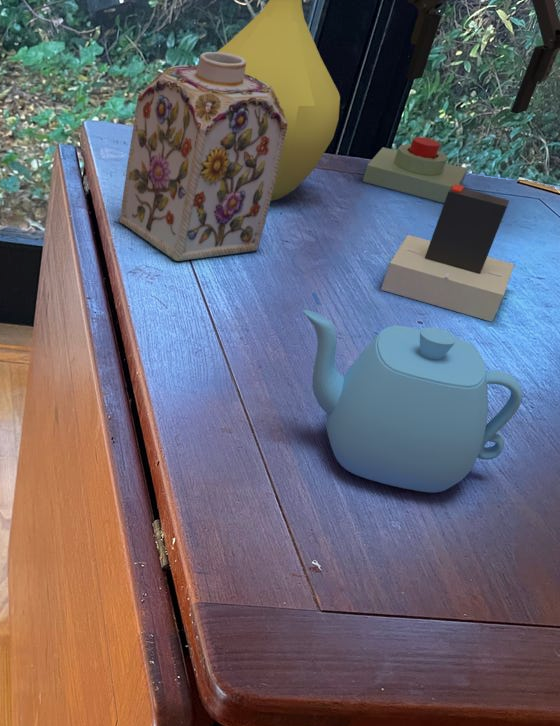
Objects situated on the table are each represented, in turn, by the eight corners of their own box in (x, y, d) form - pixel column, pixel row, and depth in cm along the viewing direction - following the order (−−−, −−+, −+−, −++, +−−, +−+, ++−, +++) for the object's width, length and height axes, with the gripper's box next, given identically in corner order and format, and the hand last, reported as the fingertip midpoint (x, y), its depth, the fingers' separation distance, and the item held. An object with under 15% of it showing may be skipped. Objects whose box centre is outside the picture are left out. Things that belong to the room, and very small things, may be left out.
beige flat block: (503, 290, 111) (515, 262, 109) (492, 322, 104) (504, 293, 102) (398, 260, 114) (408, 232, 112) (380, 290, 107) (390, 261, 105)
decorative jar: (260, 253, 110) (305, 72, 98) (176, 264, 105) (212, 75, 93) (197, 212, 117) (231, 39, 105) (115, 221, 112) (141, 40, 100)
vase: (320, 180, 132) (395, -96, 111) (310, 227, 118) (393, -78, 98) (186, 152, 133) (235, -124, 113) (160, 195, 120) (212, -110, 100)
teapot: (311, 273, 80) (538, 322, 78) (277, 392, 87) (484, 440, 85) (297, 338, 70) (555, 396, 69) (261, 466, 78) (493, 521, 76)
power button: (437, 155, 134) (442, 141, 133) (433, 161, 131) (437, 147, 130) (411, 148, 135) (415, 134, 134) (406, 155, 132) (410, 141, 131)
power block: (461, 185, 138) (472, 154, 135) (450, 205, 131) (461, 173, 128) (377, 163, 141) (386, 133, 138) (362, 181, 134) (371, 150, 131)
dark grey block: (482, 267, 107) (510, 197, 102) (480, 273, 105) (508, 203, 100) (428, 251, 108) (452, 182, 103) (424, 258, 107) (449, 188, 102)
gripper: (419, -157, 105) (357, 68, 119) (650, -110, 94) (552, 130, 109) (451, -154, 110) (388, 62, 124) (676, -110, 99) (578, 121, 113)
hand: (464, 94), depth 116 cm, fingers open, 13 cm apart
